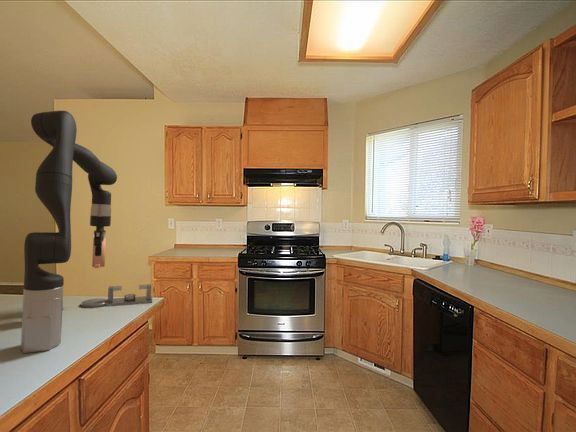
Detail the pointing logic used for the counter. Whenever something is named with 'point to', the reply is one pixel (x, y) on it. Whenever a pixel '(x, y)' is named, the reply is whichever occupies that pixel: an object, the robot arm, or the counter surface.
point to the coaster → (94, 303)
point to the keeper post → (128, 296)
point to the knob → (99, 260)
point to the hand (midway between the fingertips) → (98, 254)
